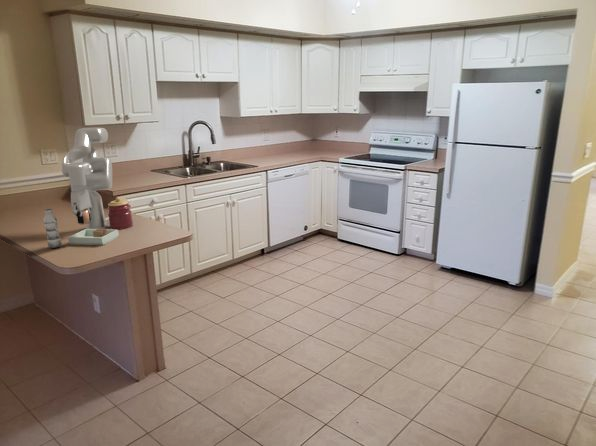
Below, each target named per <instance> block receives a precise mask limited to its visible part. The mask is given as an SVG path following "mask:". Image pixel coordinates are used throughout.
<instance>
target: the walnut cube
mask: <svg viewBox="0 0 596 446" xmlns="http://www.w3.org/2000/svg"><path fill="white" fill-rule="evenodd" d="M107 229H108V228H104V229H97V230H95V231H93V236H94V237H103V236H105V235H107V234H108V233H107Z"/></svg>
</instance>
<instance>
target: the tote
mask: <svg viewBox="0 0 596 446" xmlns="http://www.w3.org/2000/svg"><path fill="white" fill-rule="evenodd" d="M106 229H107V233H108V234H107V235H105V236H103V237H94V236H93V231H95V230H97V229H86V228H85V229H83V230H81V231H78V232H76V233H74V234H72V235H69V236H68V237H67V238H68V244H69V245H76V244H79V246H81V244H83V245H84V244H85V245H84V246H105V245H106V244H109V243H110V242H112V241H113V240H116V239H117V238H119V237H120V236H119V229H108V228H106Z"/></svg>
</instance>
